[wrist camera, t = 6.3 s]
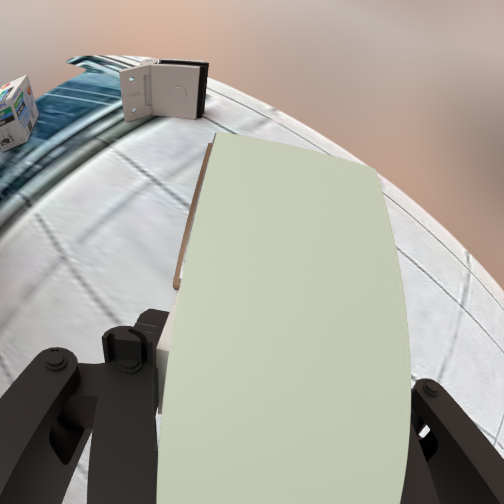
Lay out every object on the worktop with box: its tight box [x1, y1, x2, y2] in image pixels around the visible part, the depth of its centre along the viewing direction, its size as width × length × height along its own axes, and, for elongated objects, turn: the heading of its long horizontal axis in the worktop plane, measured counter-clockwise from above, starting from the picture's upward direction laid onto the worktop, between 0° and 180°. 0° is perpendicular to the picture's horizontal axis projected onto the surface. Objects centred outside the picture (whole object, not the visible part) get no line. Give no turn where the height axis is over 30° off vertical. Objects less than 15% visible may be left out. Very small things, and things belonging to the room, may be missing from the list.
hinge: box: [119, 58, 209, 122], centre depth 37 cm, size 14×5×10 cm, turn 97°
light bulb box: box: [0, 75, 39, 152], centre depth 30 cm, size 11×7×11 cm, turn 21°
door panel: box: [157, 132, 411, 504], centre depth 9 cm, size 4×9×12 cm, turn 176°
